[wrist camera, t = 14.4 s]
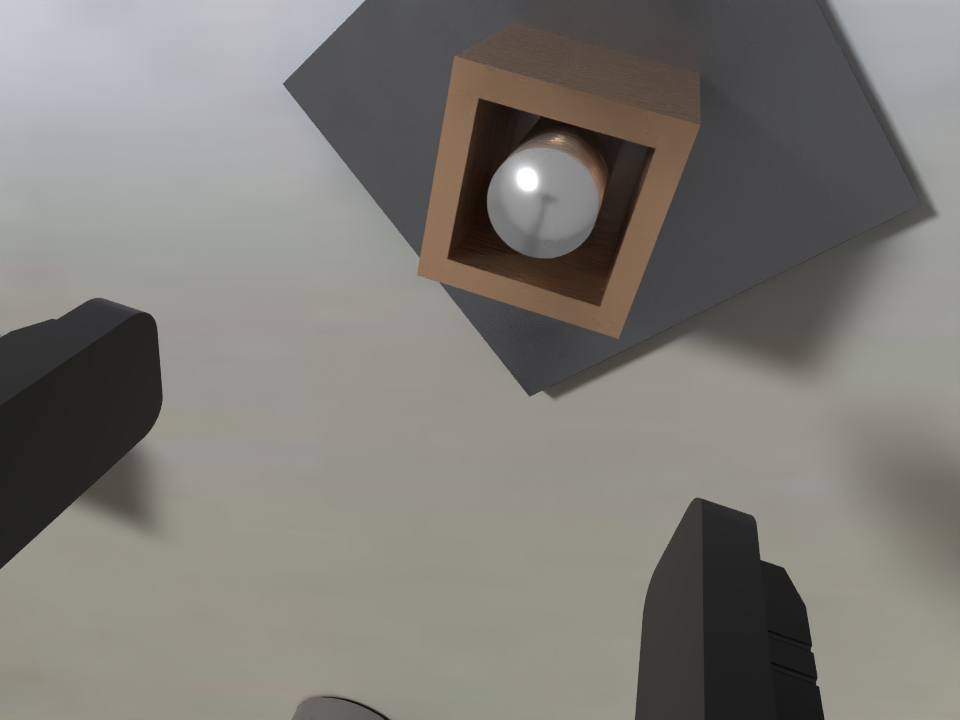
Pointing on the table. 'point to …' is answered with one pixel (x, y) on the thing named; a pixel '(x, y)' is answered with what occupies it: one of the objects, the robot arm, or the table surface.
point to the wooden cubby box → (487, 144)
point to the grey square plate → (620, 151)
